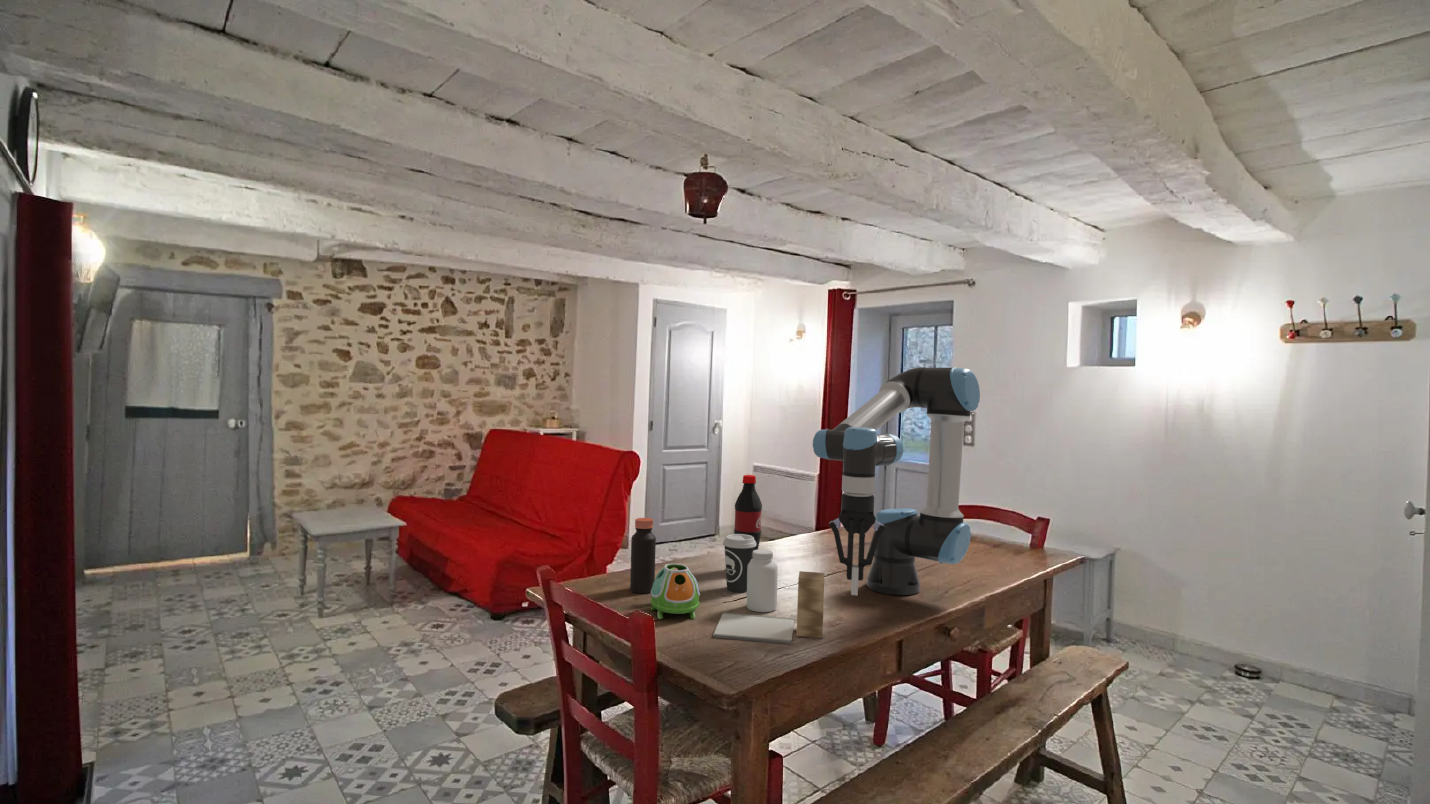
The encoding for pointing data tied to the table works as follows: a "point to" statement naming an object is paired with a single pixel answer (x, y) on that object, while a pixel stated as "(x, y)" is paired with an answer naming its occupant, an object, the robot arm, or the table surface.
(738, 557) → the coffee cup
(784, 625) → the shallow grey tray
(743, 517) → the cola bottle
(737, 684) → the table surface
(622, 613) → the table surface
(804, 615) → the oak block
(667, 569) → the turtle holder
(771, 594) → the pill bottle
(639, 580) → the vinegar
